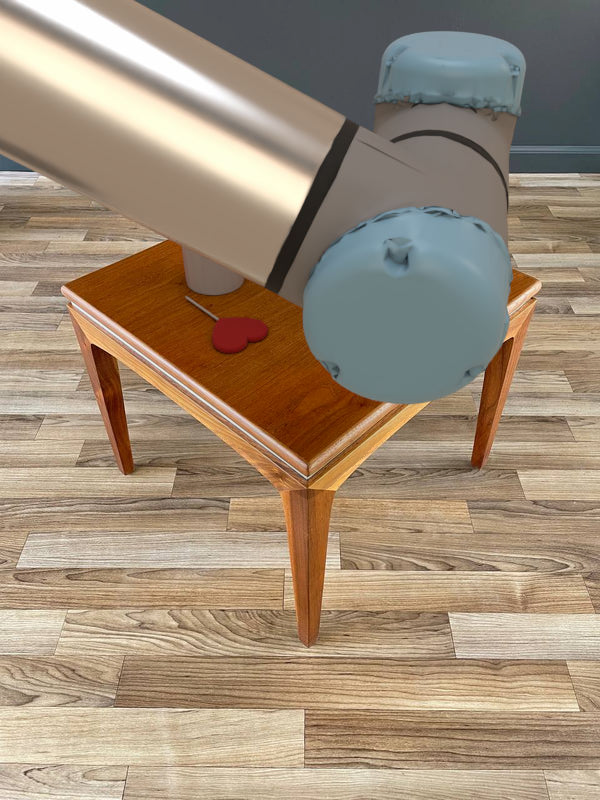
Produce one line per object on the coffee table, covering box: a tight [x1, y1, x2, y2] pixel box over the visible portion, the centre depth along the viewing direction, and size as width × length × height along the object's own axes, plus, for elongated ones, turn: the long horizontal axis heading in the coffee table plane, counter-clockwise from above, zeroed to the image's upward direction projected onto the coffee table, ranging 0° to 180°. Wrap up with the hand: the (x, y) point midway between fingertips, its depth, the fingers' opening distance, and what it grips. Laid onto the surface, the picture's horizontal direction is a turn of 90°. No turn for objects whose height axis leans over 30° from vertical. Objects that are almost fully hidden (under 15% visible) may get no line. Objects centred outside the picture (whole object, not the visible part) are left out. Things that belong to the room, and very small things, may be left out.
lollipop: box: [185, 295, 269, 355], centre depth 88 cm, size 8×1×15 cm
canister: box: [180, 245, 246, 296], centre depth 94 cm, size 9×9×9 cm
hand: (244, 144), depth 63 cm, fingers open, 13 cm apart
